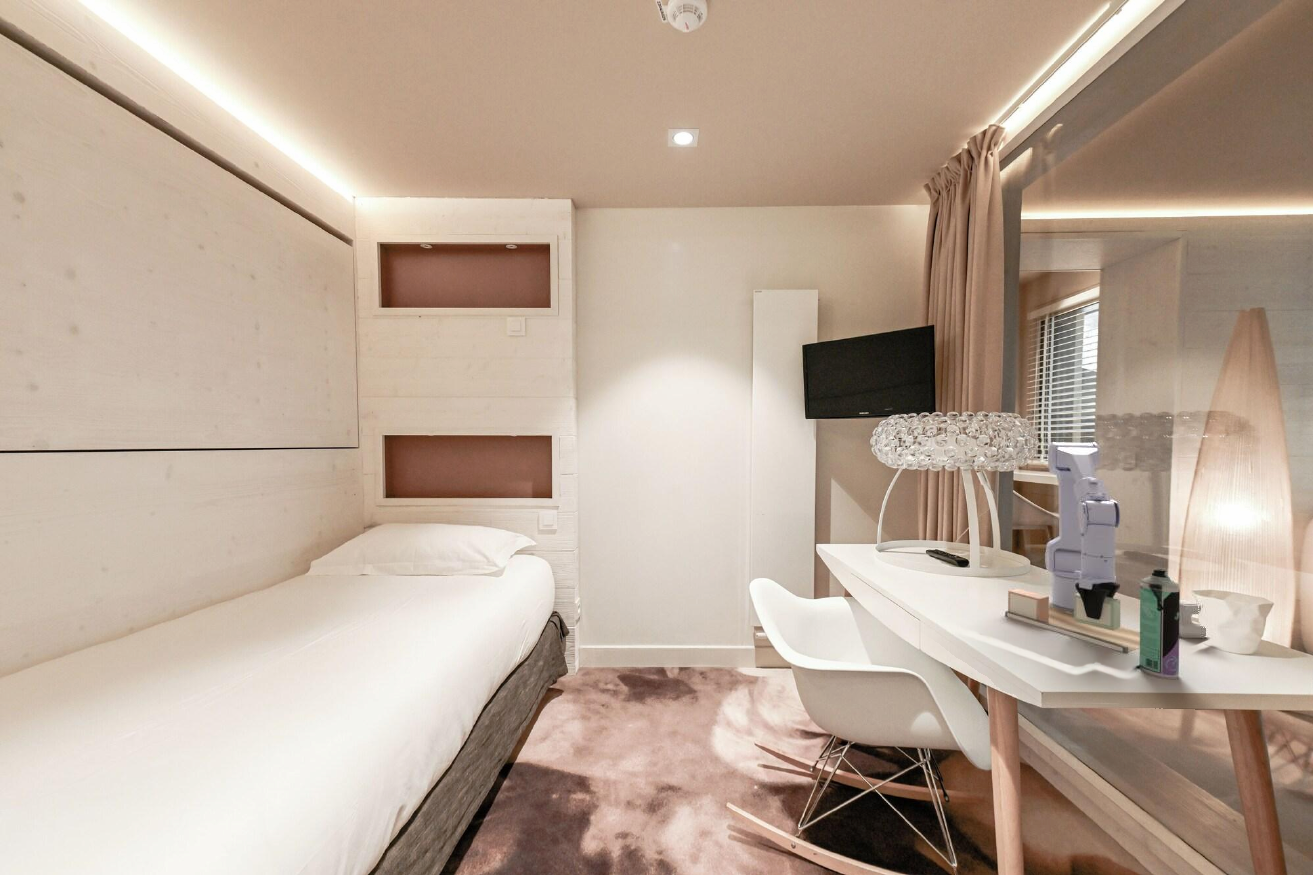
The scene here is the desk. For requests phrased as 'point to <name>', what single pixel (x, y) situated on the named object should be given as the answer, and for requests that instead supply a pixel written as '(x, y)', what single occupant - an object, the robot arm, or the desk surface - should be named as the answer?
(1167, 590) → the spray can
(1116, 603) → the sage carton
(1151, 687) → the desk surface
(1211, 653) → the desk surface
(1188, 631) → the stamp
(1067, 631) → the rail
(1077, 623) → the shelf board
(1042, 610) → the clay carton
